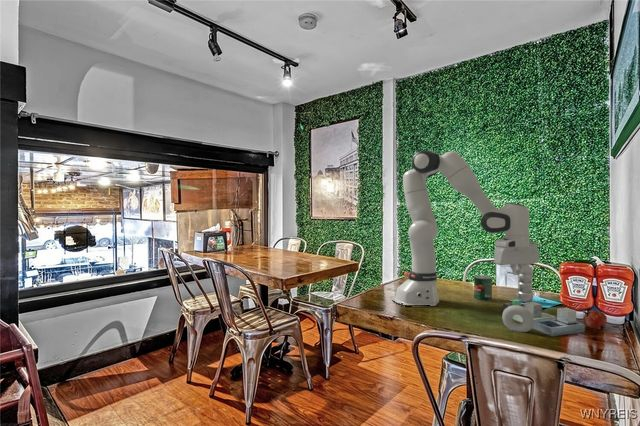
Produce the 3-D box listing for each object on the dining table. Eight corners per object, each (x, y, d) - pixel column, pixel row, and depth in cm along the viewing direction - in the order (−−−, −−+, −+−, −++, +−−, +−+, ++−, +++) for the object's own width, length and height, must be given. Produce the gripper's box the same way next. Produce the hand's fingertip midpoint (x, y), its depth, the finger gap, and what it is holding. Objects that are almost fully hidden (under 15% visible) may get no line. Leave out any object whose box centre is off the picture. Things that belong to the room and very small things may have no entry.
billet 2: (567, 331, 122) (567, 311, 122) (556, 327, 126) (557, 308, 125) (576, 330, 123) (576, 310, 123) (565, 326, 127) (565, 307, 126)
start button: (516, 309, 142) (516, 302, 141) (510, 307, 145) (510, 300, 145) (522, 309, 142) (522, 302, 142) (516, 307, 145) (516, 300, 145)
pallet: (552, 338, 117) (552, 328, 117) (532, 330, 125) (532, 321, 125) (585, 334, 121) (585, 324, 121) (563, 326, 129) (564, 317, 129)
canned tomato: (471, 299, 167) (471, 276, 167) (478, 296, 172) (478, 274, 172) (487, 302, 161) (488, 279, 161) (494, 299, 166) (494, 277, 166)
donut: (501, 331, 125) (501, 304, 125) (502, 328, 128) (502, 301, 127) (533, 337, 119) (533, 309, 119) (534, 334, 122) (534, 306, 121)
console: (516, 317, 139) (516, 308, 139) (503, 312, 146) (503, 303, 146) (530, 316, 141) (530, 306, 141) (516, 311, 148) (516, 301, 148)
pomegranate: (599, 332, 129) (574, 313, 132) (615, 320, 126) (589, 301, 129) (603, 341, 123) (576, 321, 126) (620, 328, 120) (592, 308, 123)
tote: (529, 328, 128) (529, 320, 127) (511, 320, 136) (511, 312, 136) (556, 324, 131) (556, 316, 131) (536, 317, 139) (536, 310, 139)
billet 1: (533, 323, 131) (533, 305, 131) (524, 320, 135) (524, 302, 135) (541, 322, 132) (542, 304, 132) (532, 319, 136) (533, 301, 136)
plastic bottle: (535, 303, 158) (536, 261, 158) (519, 303, 160) (519, 260, 159) (529, 300, 164) (530, 258, 164) (514, 299, 166) (514, 258, 165)
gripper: (530, 240, 149) (530, 271, 149) (491, 241, 143) (491, 274, 143) (543, 241, 142) (543, 274, 143) (503, 243, 137) (503, 277, 137)
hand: (516, 274), depth 143 cm, fingers closed
